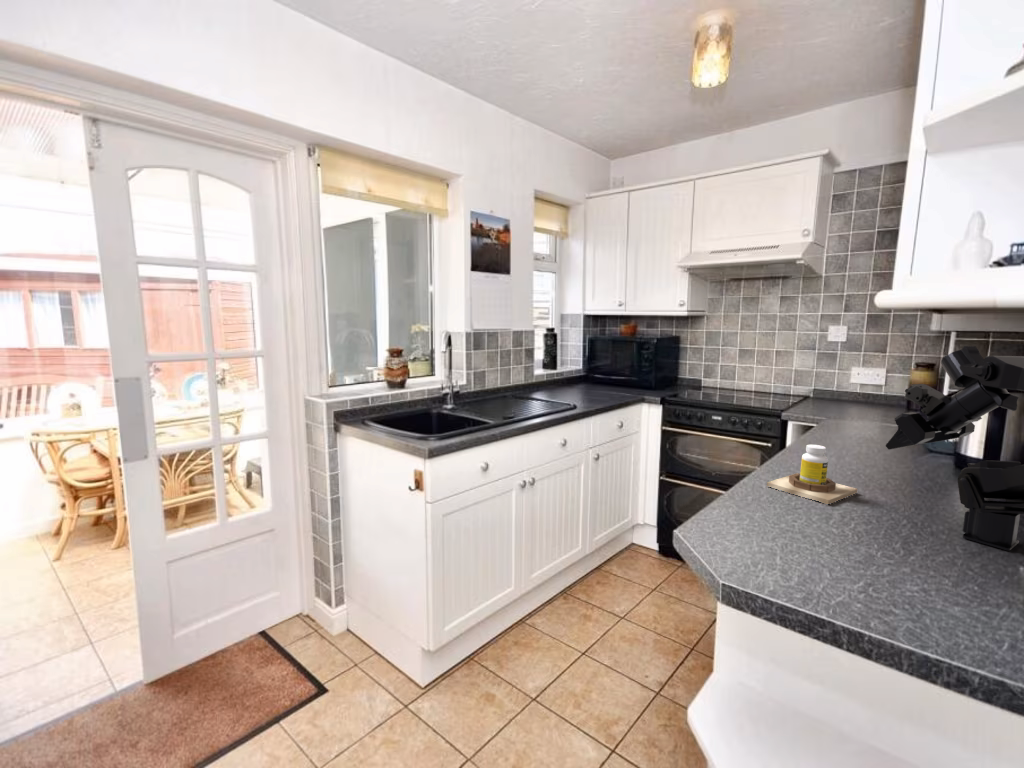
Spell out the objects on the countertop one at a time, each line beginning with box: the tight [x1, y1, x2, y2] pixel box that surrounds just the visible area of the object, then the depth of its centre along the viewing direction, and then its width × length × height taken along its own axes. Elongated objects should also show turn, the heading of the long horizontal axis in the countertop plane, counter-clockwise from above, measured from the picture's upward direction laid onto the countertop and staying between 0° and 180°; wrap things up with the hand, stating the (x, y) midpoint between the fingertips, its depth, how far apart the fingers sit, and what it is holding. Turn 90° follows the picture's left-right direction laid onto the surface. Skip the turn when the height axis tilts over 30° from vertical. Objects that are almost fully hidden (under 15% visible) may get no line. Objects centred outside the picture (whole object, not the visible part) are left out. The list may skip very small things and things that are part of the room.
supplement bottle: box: [799, 444, 829, 485], centre depth 117 cm, size 5×5×10 cm
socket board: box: [766, 472, 858, 505], centre depth 118 cm, size 14×14×3 cm
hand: (900, 445), depth 108 cm, fingers open, 9 cm apart
